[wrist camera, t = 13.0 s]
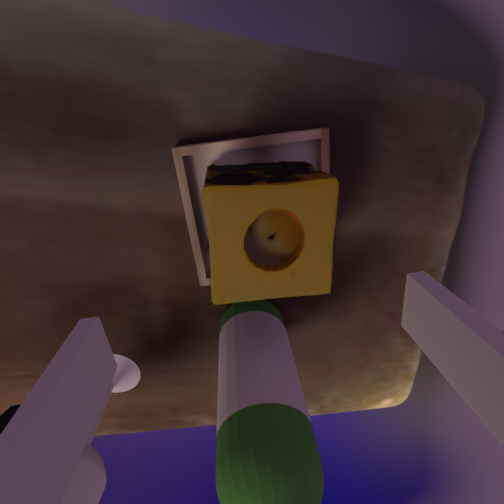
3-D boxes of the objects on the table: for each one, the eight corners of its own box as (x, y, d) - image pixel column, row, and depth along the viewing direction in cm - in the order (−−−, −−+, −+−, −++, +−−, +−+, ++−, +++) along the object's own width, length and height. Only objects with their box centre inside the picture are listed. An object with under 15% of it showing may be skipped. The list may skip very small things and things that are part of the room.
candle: (213, 257, 35) (209, 308, 25) (204, 164, 30) (195, 185, 21) (304, 251, 35) (331, 299, 26) (307, 158, 31) (341, 177, 22)
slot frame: (201, 278, 36) (200, 286, 34) (174, 146, 30) (171, 148, 28) (326, 261, 36) (330, 268, 35) (323, 127, 30) (329, 128, 29)
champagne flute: (113, 399, 42) (-8, 703, 21) (75, 370, 40) (-108, 680, 18) (151, 377, 41) (67, 673, 19) (115, 345, 39) (-28, 643, 17)
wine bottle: (293, 325, 40) (441, 795, 12) (242, 354, 41) (275, 837, 14) (260, 282, 37) (359, 771, 9) (207, 314, 38) (157, 828, 11)
